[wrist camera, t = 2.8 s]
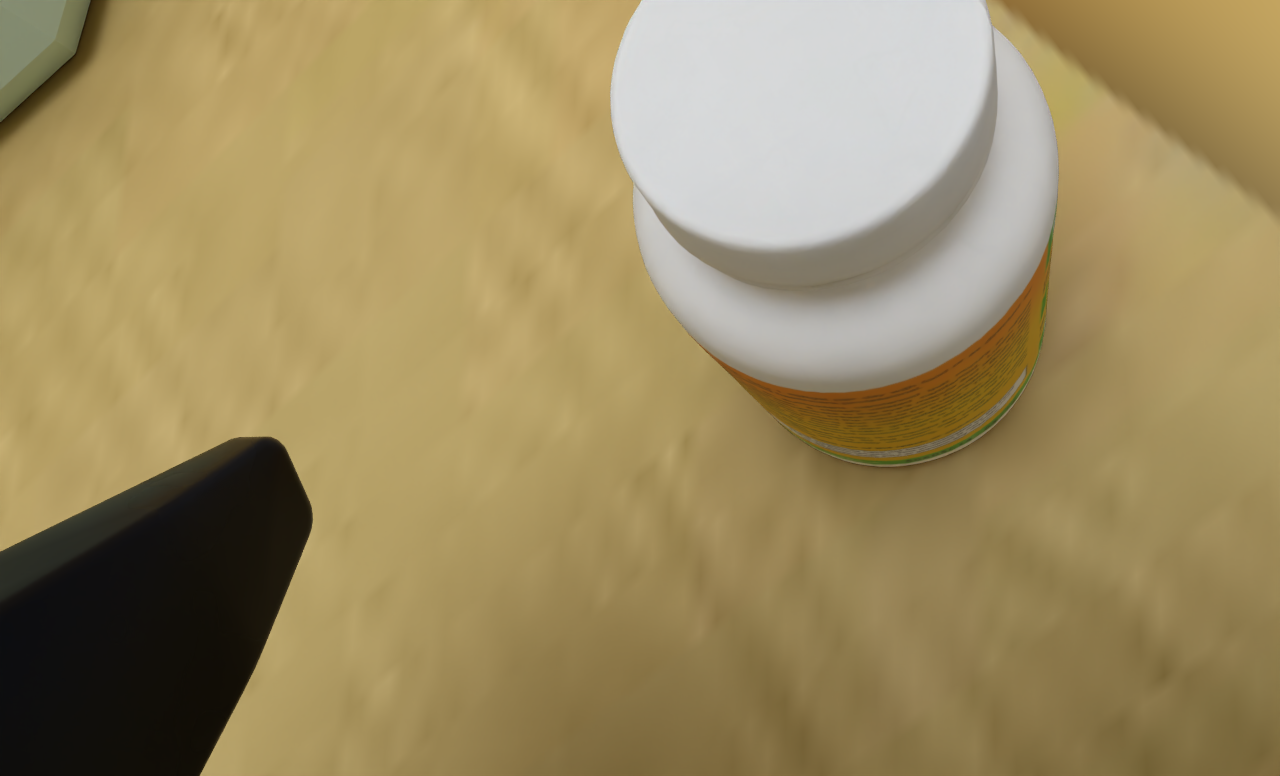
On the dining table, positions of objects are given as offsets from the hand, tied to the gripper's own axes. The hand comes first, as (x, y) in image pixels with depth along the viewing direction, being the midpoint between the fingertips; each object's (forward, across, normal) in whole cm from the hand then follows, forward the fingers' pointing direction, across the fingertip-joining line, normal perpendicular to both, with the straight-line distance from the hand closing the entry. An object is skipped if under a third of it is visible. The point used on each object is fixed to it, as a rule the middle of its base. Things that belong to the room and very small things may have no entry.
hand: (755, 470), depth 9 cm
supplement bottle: (+11, 0, +5) cm, 12 cm away
